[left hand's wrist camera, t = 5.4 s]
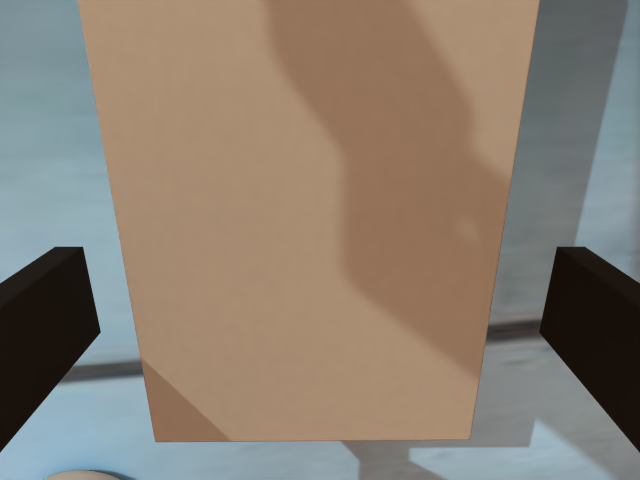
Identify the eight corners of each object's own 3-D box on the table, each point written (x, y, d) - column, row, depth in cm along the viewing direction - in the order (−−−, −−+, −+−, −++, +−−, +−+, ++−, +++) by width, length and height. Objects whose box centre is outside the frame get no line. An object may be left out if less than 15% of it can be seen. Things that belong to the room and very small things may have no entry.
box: (407, 290, 21) (470, 440, 12) (219, 291, 21) (154, 442, 12) (461, -375, 13) (733, -1199, 5) (158, -377, 13) (-140, -1226, 4)
